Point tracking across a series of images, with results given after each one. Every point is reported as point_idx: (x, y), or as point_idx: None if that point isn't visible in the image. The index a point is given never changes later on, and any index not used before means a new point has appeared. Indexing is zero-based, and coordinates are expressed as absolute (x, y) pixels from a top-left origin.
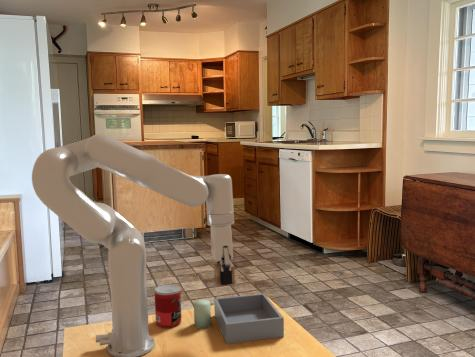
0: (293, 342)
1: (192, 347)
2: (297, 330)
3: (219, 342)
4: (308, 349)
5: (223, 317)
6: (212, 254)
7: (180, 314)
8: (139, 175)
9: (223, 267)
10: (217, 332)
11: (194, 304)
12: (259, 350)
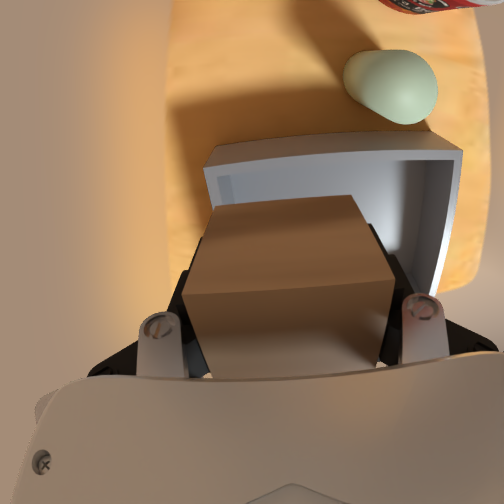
0: None
1: (200, 41)
2: None
3: (228, 124)
4: None
5: (270, 160)
6: (389, 391)
7: (402, 4)
8: None
9: (128, 361)
10: (303, 121)
11: (392, 50)
12: (177, 229)
